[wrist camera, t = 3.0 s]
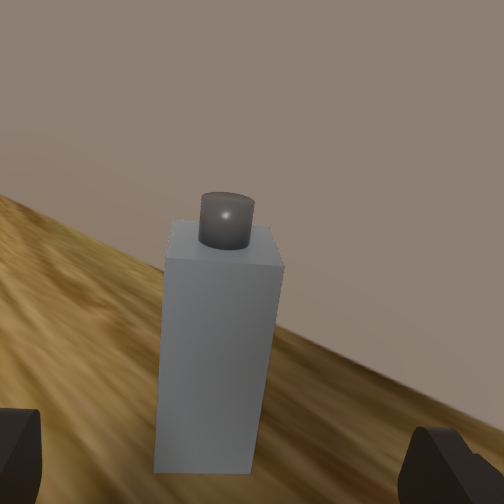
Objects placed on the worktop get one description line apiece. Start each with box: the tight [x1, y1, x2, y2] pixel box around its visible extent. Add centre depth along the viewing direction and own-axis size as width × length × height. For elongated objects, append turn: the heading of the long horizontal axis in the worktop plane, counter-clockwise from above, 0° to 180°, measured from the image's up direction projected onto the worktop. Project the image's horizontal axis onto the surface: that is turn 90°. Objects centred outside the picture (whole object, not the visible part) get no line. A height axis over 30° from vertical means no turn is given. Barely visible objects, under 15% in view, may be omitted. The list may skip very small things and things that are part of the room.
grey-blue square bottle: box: [153, 192, 285, 474], centre depth 23 cm, size 5×5×14 cm
